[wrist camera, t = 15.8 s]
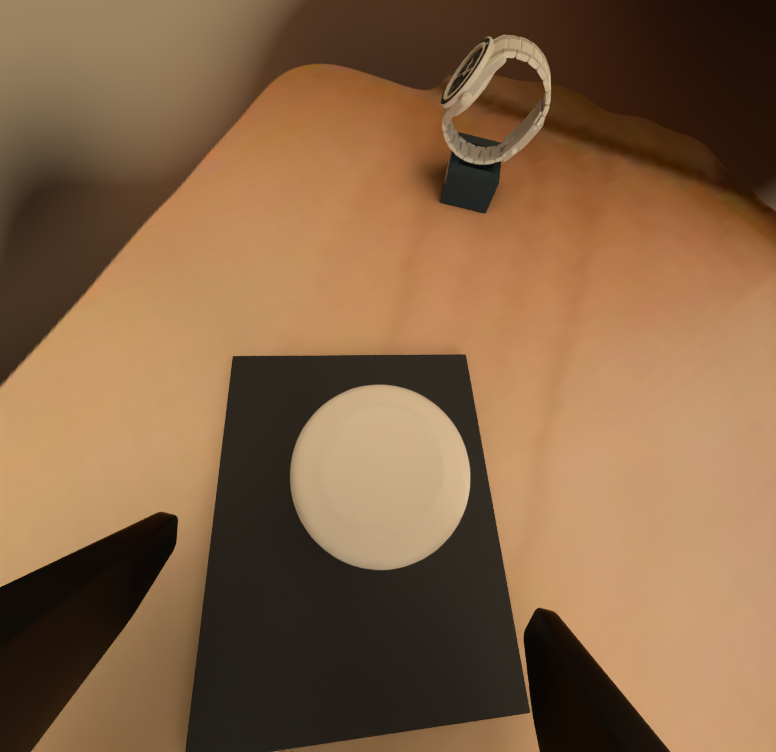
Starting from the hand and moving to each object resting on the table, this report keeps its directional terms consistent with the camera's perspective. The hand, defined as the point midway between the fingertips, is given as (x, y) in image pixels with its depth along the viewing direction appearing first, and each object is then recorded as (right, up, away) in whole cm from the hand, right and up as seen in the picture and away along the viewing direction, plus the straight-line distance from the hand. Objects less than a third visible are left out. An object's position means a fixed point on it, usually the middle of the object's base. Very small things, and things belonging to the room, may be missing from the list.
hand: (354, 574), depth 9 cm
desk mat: (-1, -3, +13) cm, 13 cm away
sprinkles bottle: (-1, -3, +12) cm, 13 cm away
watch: (+8, +22, +26) cm, 35 cm away
